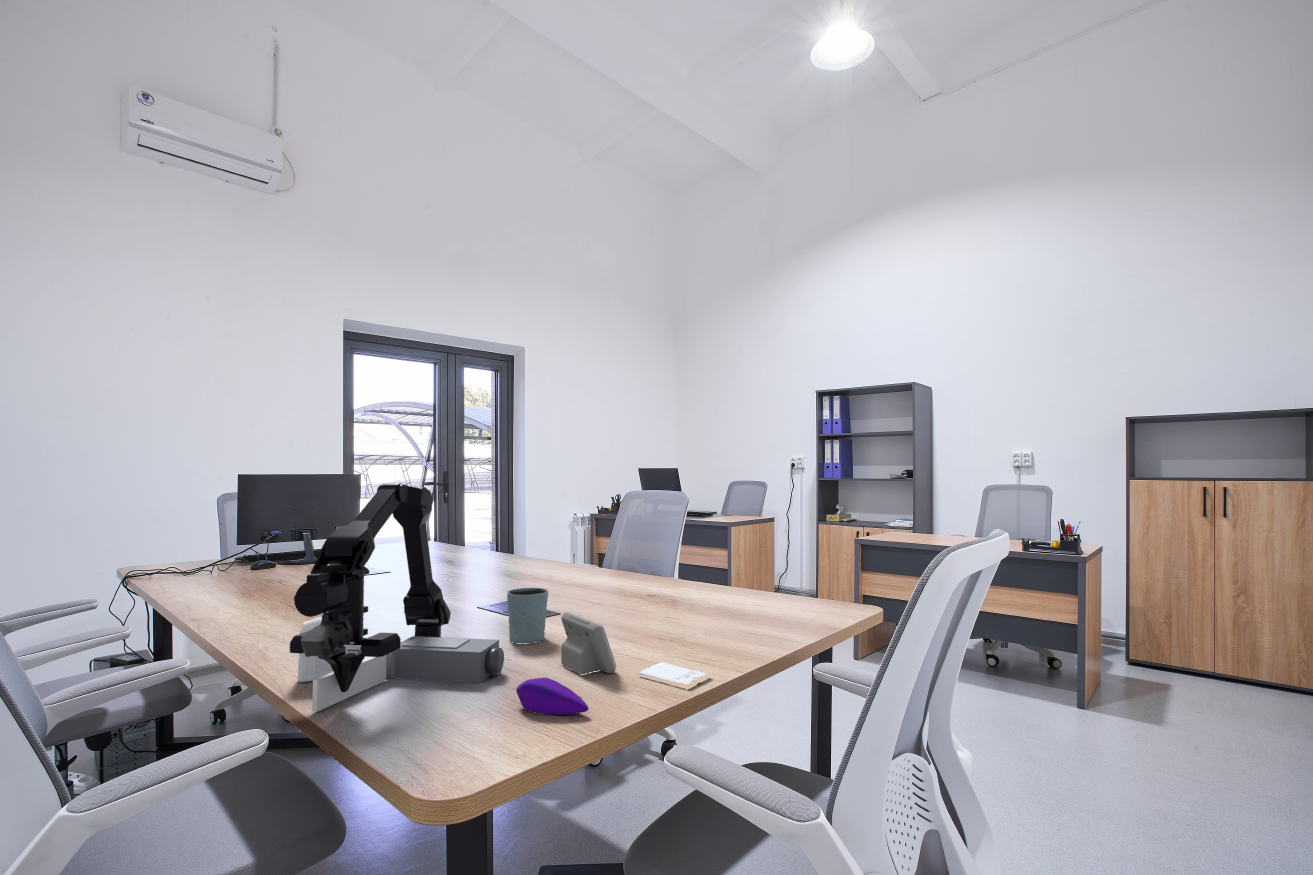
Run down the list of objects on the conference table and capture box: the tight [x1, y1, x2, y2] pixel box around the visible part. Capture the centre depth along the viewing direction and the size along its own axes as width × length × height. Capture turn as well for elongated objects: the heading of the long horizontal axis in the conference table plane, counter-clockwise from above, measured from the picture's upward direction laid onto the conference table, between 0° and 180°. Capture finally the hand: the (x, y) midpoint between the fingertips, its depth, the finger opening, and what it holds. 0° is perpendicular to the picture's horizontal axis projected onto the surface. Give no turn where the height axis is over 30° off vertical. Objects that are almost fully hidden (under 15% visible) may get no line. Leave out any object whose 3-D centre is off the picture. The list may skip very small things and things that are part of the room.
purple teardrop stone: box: [515, 677, 589, 716], centre depth 106 cm, size 5×5×15 cm
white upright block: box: [297, 616, 354, 683], centre depth 124 cm, size 10×4×12 cm, turn 123°
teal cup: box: [506, 587, 549, 644], centre depth 150 cm, size 10×10×12 cm
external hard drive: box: [638, 661, 710, 684], centre depth 122 cm, size 2×8×12 cm
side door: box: [311, 653, 392, 713], centre depth 113 cm, size 2×18×5 cm, turn 162°
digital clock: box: [560, 611, 617, 675], centre depth 129 cm, size 16×9×11 cm, turn 25°
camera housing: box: [391, 635, 505, 684], centre depth 125 cm, size 9×22×6 cm, turn 81°
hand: (344, 691), depth 108 cm, fingers closed
